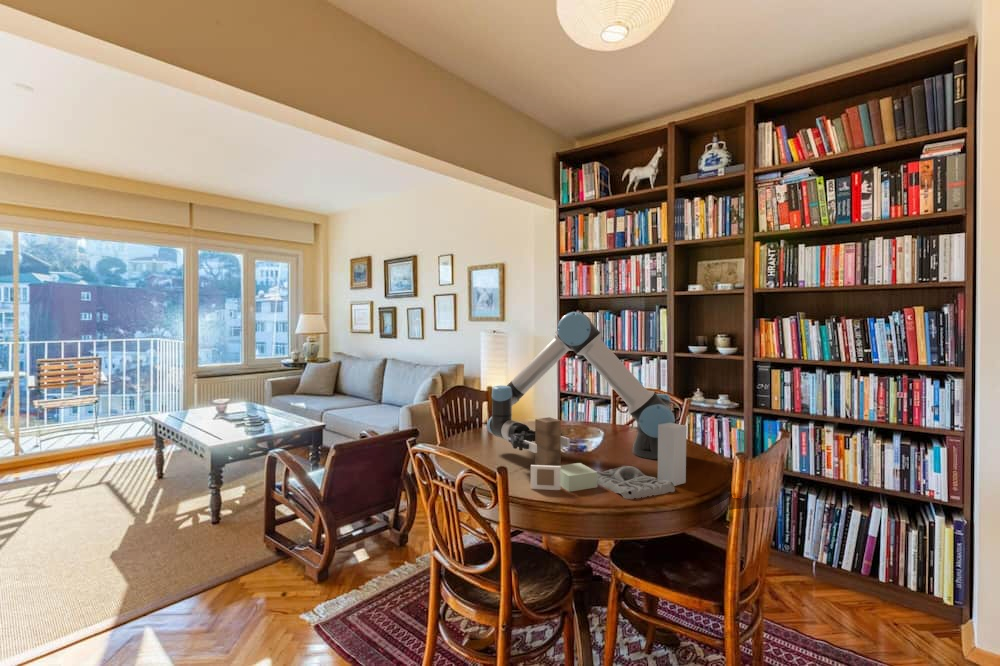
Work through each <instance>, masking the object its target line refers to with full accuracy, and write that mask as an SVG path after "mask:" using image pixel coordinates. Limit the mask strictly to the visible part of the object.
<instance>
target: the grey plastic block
mask: <svg viewBox="0 0 1000 666" xmlns="http://www.w3.org/2000/svg"><path fill="white" fill-rule="evenodd" d="M686 467H687V425H684V424H679V423H671V422H670V423H665V424H659V425H658V459H657V480H669V481H671V482H672V483H673V484H674V487H676V486H679V485H682V484H686V482H687V478H686V477H687V474H686V473H687V468H686Z"/></svg>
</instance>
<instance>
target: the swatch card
mask: <svg viewBox="0 0 1000 666" xmlns="http://www.w3.org/2000/svg"><path fill="white" fill-rule="evenodd" d="M560 480H561V466H548V465H535V464H530V490H549V491H561V486H560Z"/></svg>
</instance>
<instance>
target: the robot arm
mask: <svg viewBox="0 0 1000 666" xmlns="http://www.w3.org/2000/svg"><path fill="white" fill-rule="evenodd" d="M570 351H571V352H572V351H573V352H574V354H576V355H577V356H582V357H584V358H585V359H586V360H587V361H588V363H589V364H590V365H591V366H592V367H593V368H594V370H595V371H596V372H597V373H598V374H599V375H600V376H601V377H602V378H603V379H604V381H606V383H608V385H609V386H610V388H612V389H613V391H615V392H616V394H617V395H618V396H619V398H621V399H622V400H623V401H624V402H625V404H626V405H627V406H628V414H629V415H630V416H631V417H632V418H633V419H634V421H636V423H637V434H636V436H635V439H634V442H633V444H632V445H633V446H632V454H633V455H635V456H638V457H640V458H644V459H651V460H658V425H659V424H665V423H670V422H671V423H675V422H676V417H675V413H674V412H673V411H672V410H671V403H672V402H671V396H670V394H666V393H664V394H663V393H656V392H655V391H654V390H647V388H646V387H645V386H644V385H643V384H642V383H641V382H640V381H639V380H638V379H637V378H636V377H635V375H634V374H633V373H632V372H631V370H630V369H628V368H627V367H626V365H625V364H624V363H623V362H622V361H621V360H620V359H619V357H618V356H617V355H616V354H615V353H614V352H613V351H612V350H611V349H610V348H609V347H608V346H607V344H606V343H605V342H604V341H603V340H602V332H600V330H599V329H598V328H597V327H596V326H595V324H593V323H592V320H591V319H590V317H589V316H588V315H586V314H585V313H583V312H580V311H579V312H578V311H572V312H571V311H570V312H567V313H566V314H565V315H563V316H562V317H561V319H560V320H559V322H558V324H557V330H556V331H555V333H554V337H553V338H552V339H551V340H550V341H549V342H548V343H547V345H545V346H544V347H543V348H542V349H541V351H539V352H538V354H536V356H535V357H533V359H531V361H529V362H528V364H527V365H526V366H525V367H523V369H522V370H521V371H520V372H519V373H517V374H516V375H515V377H514V378H513V379H512V380H511V381H510V382H509V383H507V385H494V386H493V387H492V388H491V389H492V390H491V417H490V418H489V419H488V421H487V423H486V428H487V431H488V432H489V433H490V434H492V435H493V436H495V437H496V438H501V439H503V440H506V441H508V443H510V444H511V446H512V448H513V449H514V450H516V449H518V451H524V450H526V451H529V452H531V453H534V454H535V453H537V444H535V430H532V429H530V428H529V426H528V425H527V424H525V423H521V422H519V421H515V420H513V419H512V416H513V415H512V414H513V413H512V410H513V409H512V407H513V406H514V405H515V404H517V403H518V402H519V401H520V399H521V398H522V397H523V396H524V395H526V394H527V392H528V391H529V390H531V388H532V387H533V386H534V385H535V384H536V383H537V382H539V381H540V379H541V378H542V377H543V376H544V375H545V374H546V373H548V372H549V371H550V370H551V369H552V368H553V367H554V366H555V365H556V364H557V363H558V362H559V361H561V360H560V359H562V358H563V357H564V356H565V355H566V354H567V353H568V352H570ZM675 424H676V423H675ZM562 435H563V434H562V432H561V446H565V447H567V448H570V447H571V446H570V441H571V439H570V437H566V436H562ZM523 449H524V450H523Z"/></svg>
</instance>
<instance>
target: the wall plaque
mask: <svg viewBox="0 0 1000 666" xmlns="http://www.w3.org/2000/svg"><path fill="white" fill-rule="evenodd" d="M595 471H596V470H595ZM596 472H597V485H600V486H601V487H604V489H607V490H610V491H611V492H614V493H615V494H620V495H621V496H622V497H623V499H625V500H634V498H636V499H641V497H642V498H648V497H647V496H649V497H652V495H654V496H658V495H664V494H668V493H674V492H675V491H676V488H675V486H674V484H673V483H672V482H671V481H669V480H658V478H657V477H655V476H649V475H645V473H643V472H642V471H641V470H640V469H639V468H637V467H635V466H633V465H632V466H631V465H624V464H623V465H621V466H619V467H616V468H610V469H608V470H604V471H602V472H601V471H596ZM629 492H630V493H629Z"/></svg>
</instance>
